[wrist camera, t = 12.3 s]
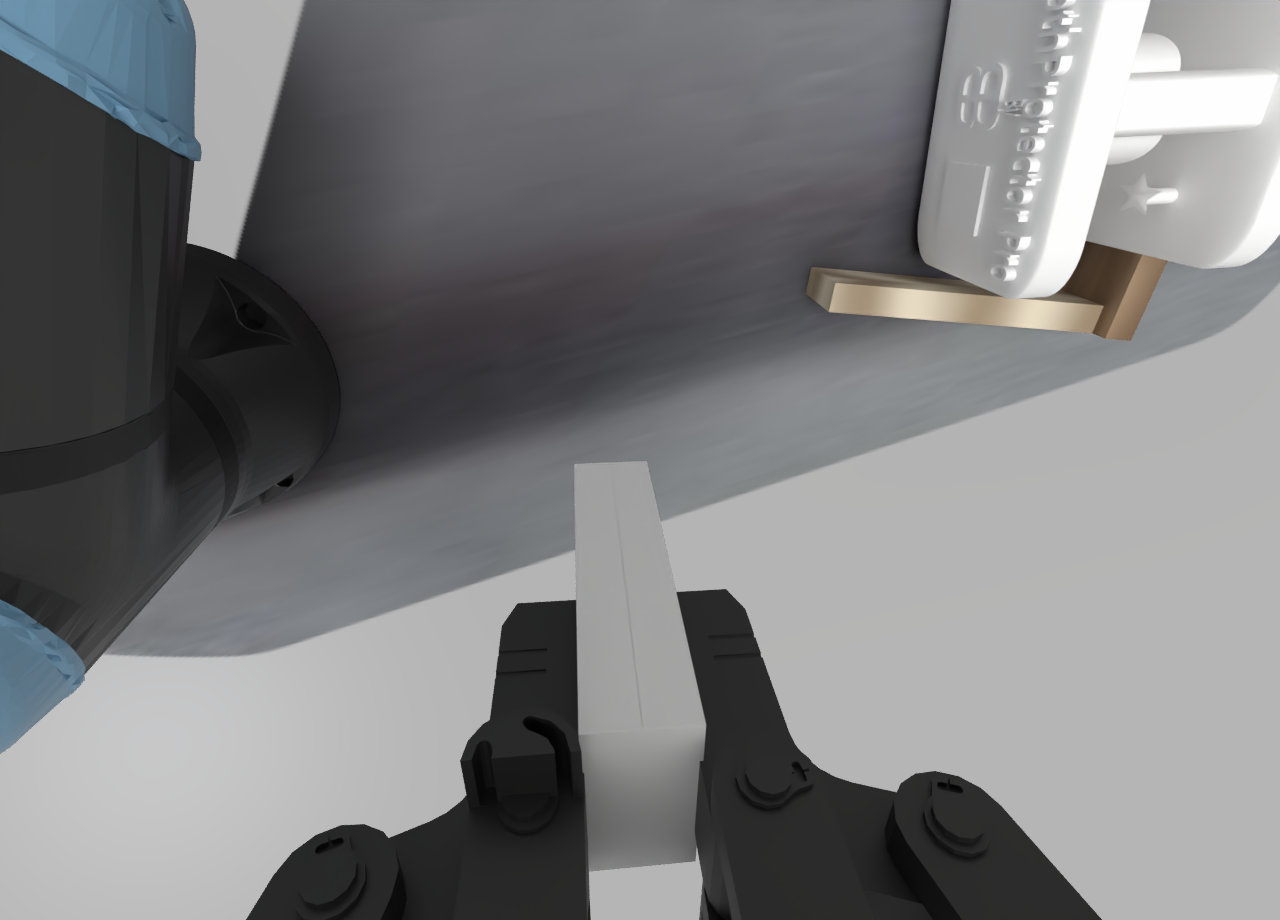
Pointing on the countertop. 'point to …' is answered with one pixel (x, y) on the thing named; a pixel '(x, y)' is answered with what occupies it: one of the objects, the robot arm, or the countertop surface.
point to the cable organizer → (1101, 137)
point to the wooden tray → (1089, 301)
